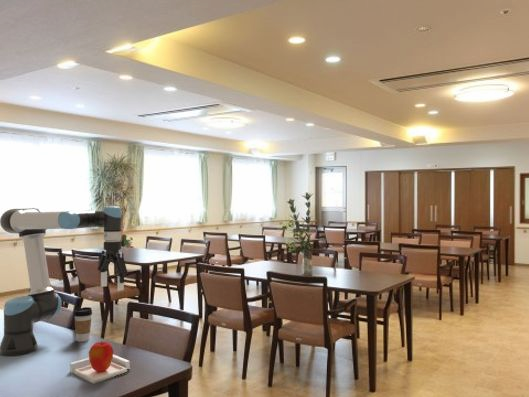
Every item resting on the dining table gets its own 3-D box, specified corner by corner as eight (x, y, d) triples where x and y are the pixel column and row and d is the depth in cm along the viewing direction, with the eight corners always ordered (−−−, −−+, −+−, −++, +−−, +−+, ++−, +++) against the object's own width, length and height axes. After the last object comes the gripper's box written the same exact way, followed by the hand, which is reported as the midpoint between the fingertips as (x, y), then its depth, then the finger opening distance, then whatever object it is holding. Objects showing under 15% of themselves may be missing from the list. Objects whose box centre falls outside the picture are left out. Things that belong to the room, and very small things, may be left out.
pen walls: (69, 371, 182) (69, 362, 182) (107, 360, 195) (108, 352, 195) (90, 382, 172) (90, 372, 172) (129, 369, 185) (129, 360, 185)
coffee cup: (95, 339, 225) (96, 308, 225) (80, 343, 217) (81, 312, 218) (84, 336, 229) (85, 306, 229) (69, 340, 222) (70, 309, 222)
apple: (83, 372, 179) (84, 341, 179) (102, 365, 187) (103, 336, 187) (98, 377, 174) (99, 345, 174) (117, 370, 182) (118, 340, 182)
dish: (74, 374, 179) (74, 369, 179) (107, 364, 190) (107, 360, 190) (93, 383, 170) (93, 378, 170) (126, 372, 181) (126, 368, 181)
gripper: (90, 239, 210) (89, 285, 210) (120, 243, 194) (120, 293, 194) (104, 238, 216) (104, 283, 216) (135, 242, 200) (135, 290, 200)
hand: (112, 288), depth 205 cm, fingers open, 13 cm apart
